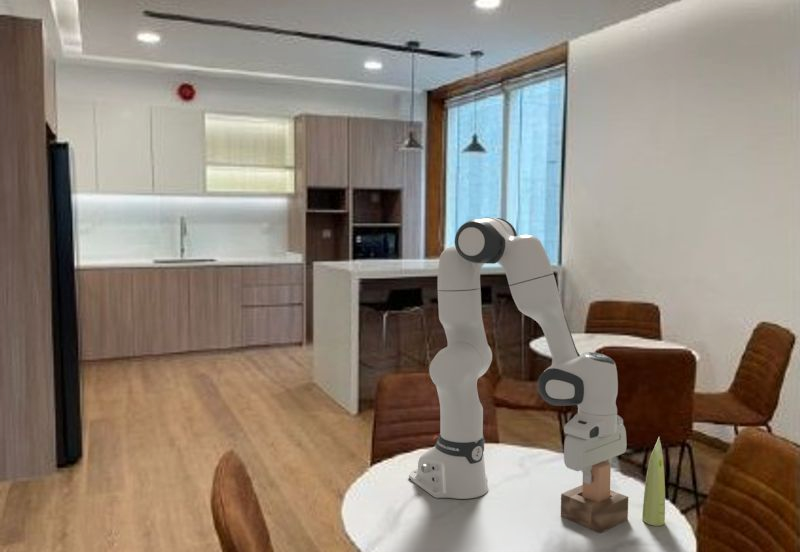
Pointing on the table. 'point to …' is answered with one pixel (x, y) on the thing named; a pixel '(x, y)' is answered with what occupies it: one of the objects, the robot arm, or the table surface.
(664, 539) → the table surface
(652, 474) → the tube
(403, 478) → the table surface
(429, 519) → the table surface
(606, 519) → the socket block
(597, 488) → the peg
